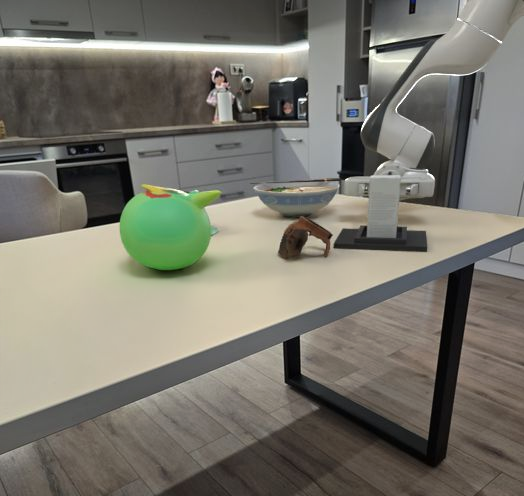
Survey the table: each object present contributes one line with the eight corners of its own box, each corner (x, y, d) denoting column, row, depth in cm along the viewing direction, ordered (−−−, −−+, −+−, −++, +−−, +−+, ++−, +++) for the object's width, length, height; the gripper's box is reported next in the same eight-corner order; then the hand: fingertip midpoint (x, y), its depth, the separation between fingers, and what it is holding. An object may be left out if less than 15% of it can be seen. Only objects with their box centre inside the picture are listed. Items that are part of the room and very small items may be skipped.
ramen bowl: (250, 224, 120) (248, 190, 116) (251, 208, 140) (250, 179, 137) (349, 221, 120) (351, 187, 116) (336, 205, 140) (337, 176, 137)
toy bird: (118, 261, 93) (105, 182, 86) (201, 250, 99) (195, 174, 92) (136, 288, 78) (122, 194, 72) (233, 272, 84) (228, 185, 78)
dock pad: (425, 235, 104) (426, 226, 103) (426, 251, 92) (428, 241, 91) (342, 232, 109) (342, 223, 108) (333, 248, 97) (333, 238, 96)
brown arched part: (281, 250, 98) (301, 213, 96) (320, 274, 97) (341, 237, 94) (263, 249, 87) (285, 208, 85) (306, 276, 86) (330, 235, 83)
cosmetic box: (395, 234, 102) (401, 174, 96) (396, 239, 98) (401, 177, 92) (366, 233, 103) (370, 174, 98) (365, 238, 99) (369, 177, 94)
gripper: (347, 169, 118) (339, 176, 106) (434, 169, 113) (437, 176, 101) (346, 195, 121) (338, 205, 109) (431, 196, 116) (433, 207, 104)
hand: (386, 191), depth 105 cm, fingers open, 8 cm apart
